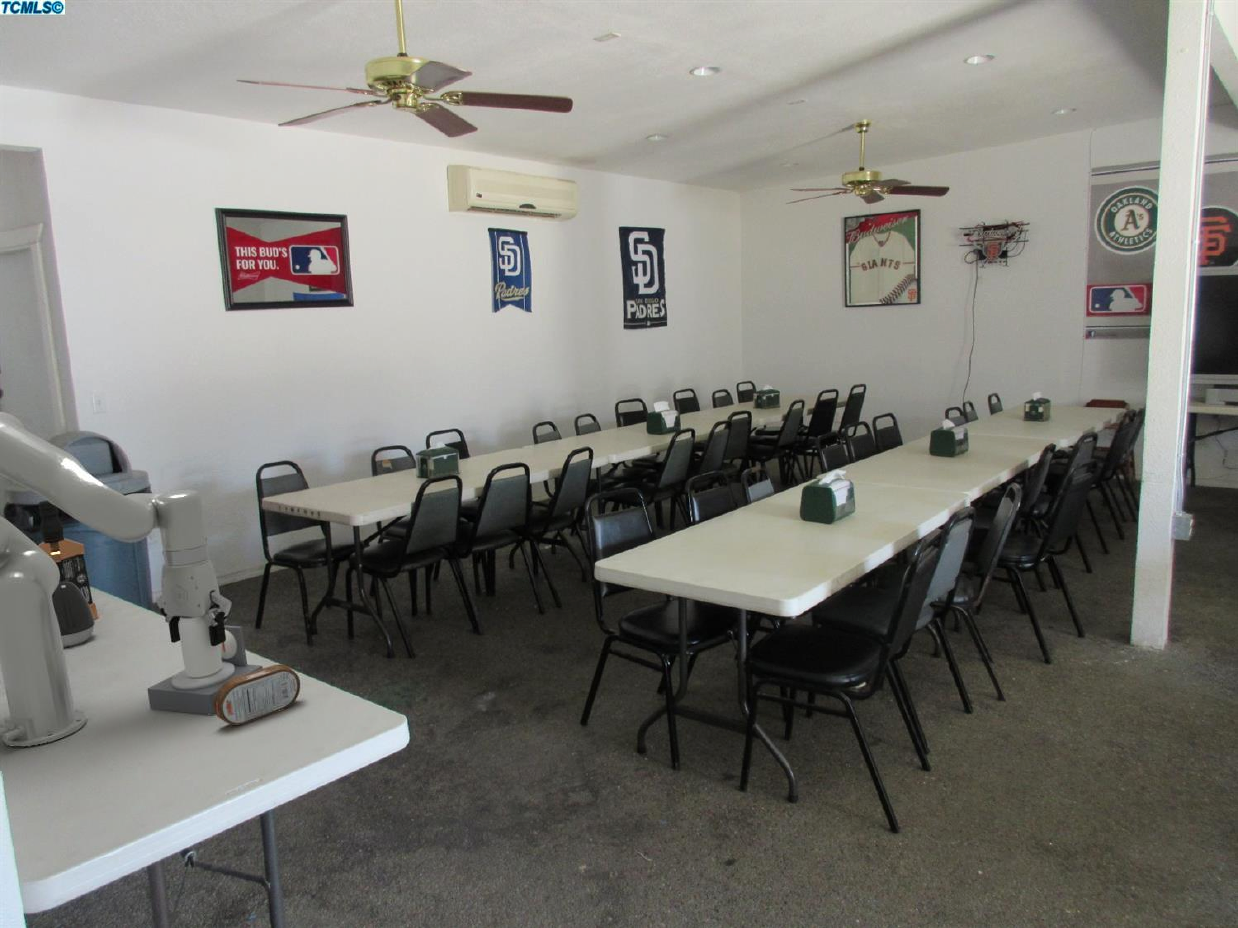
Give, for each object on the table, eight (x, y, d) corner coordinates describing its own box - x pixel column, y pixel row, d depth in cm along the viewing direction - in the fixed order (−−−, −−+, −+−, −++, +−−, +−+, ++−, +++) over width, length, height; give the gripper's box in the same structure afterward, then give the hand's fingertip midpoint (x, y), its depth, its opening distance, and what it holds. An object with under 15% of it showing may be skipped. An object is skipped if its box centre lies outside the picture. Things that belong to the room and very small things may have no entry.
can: (213, 663, 170) (204, 605, 168) (229, 669, 166) (220, 610, 164) (180, 674, 165) (170, 615, 163) (195, 681, 161) (186, 621, 159)
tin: (298, 699, 163) (292, 657, 161) (305, 703, 161) (299, 661, 159) (216, 729, 152) (209, 684, 151) (222, 734, 150) (215, 688, 149)
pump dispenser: (37, 648, 202) (25, 586, 199) (82, 633, 211) (72, 573, 208) (61, 653, 197) (49, 590, 194) (106, 638, 206) (95, 577, 203)
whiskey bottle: (101, 617, 222) (80, 496, 217) (69, 631, 213) (46, 505, 208) (68, 616, 225) (46, 497, 220) (35, 630, 215) (11, 505, 210)
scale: (212, 715, 158) (203, 653, 156) (150, 708, 163) (140, 648, 161) (264, 684, 171) (256, 627, 169) (205, 679, 176) (197, 623, 174)
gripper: (135, 559, 161) (148, 646, 164) (207, 562, 156) (219, 652, 158) (167, 549, 168) (179, 632, 171) (237, 551, 163) (249, 638, 165)
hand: (198, 642), depth 165 cm, fingers open, 9 cm apart
